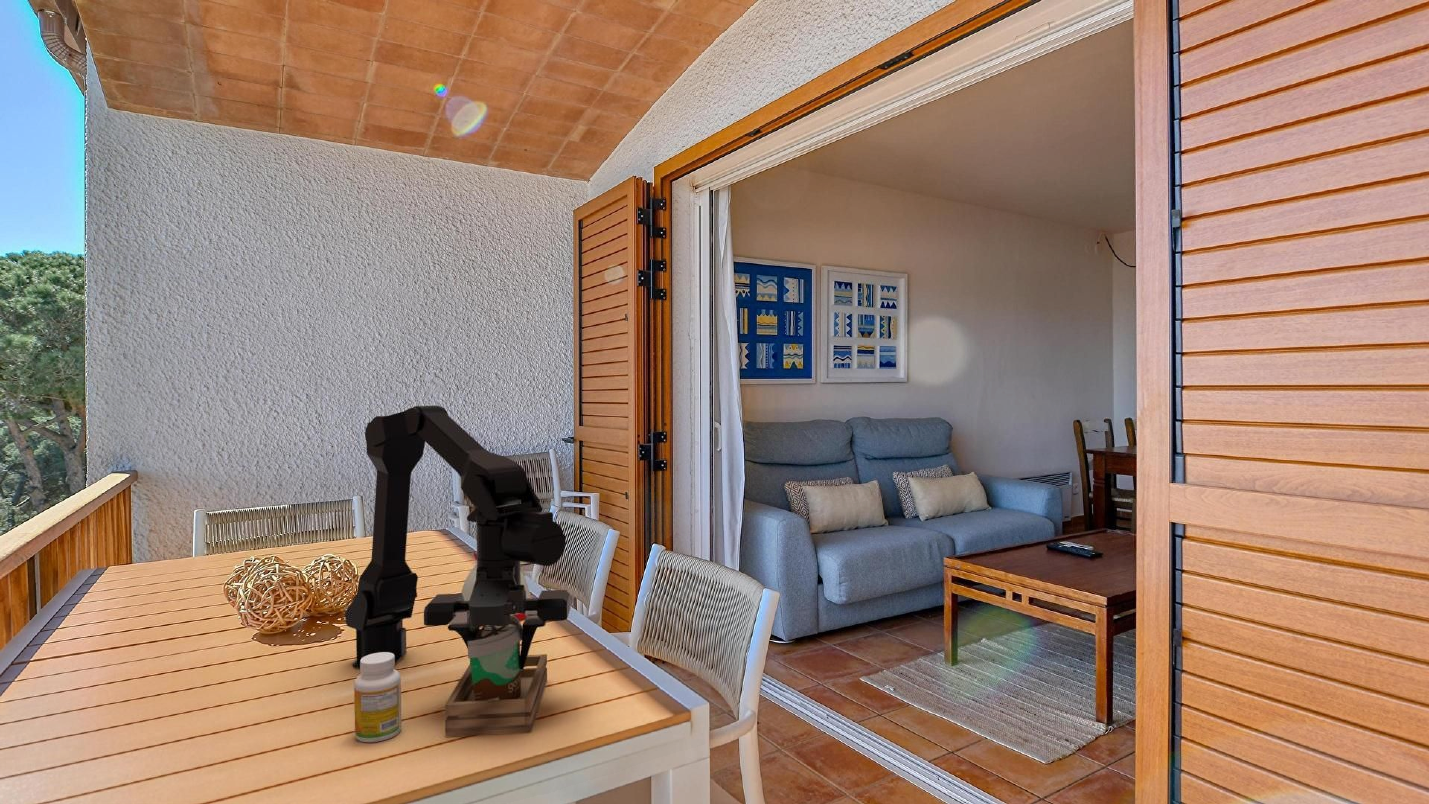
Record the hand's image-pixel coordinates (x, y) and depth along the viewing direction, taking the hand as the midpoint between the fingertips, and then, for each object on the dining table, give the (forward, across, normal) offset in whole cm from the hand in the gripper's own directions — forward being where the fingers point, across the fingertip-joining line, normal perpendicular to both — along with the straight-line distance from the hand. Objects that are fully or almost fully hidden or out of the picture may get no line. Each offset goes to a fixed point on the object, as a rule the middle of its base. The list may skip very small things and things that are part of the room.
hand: (500, 669), depth 102 cm
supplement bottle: (+5, -14, -6) cm, 16 cm away
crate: (+5, 0, 0) cm, 5 cm away
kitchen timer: (+5, -9, +42) cm, 43 cm away
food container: (+4, +1, 0) cm, 4 cm away
